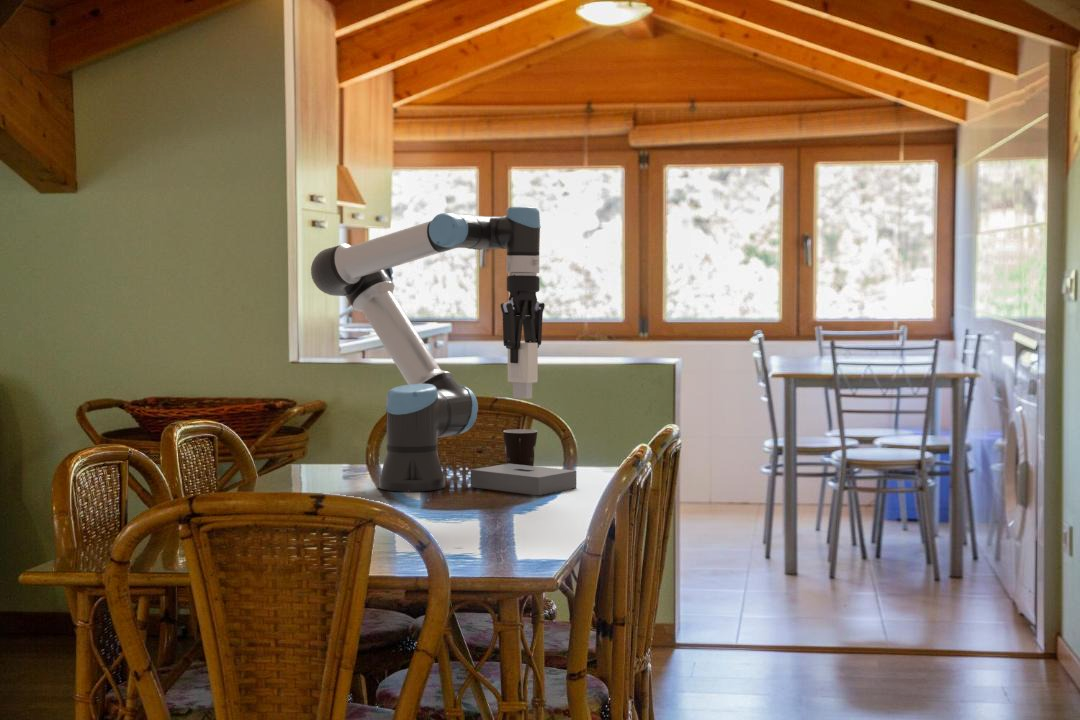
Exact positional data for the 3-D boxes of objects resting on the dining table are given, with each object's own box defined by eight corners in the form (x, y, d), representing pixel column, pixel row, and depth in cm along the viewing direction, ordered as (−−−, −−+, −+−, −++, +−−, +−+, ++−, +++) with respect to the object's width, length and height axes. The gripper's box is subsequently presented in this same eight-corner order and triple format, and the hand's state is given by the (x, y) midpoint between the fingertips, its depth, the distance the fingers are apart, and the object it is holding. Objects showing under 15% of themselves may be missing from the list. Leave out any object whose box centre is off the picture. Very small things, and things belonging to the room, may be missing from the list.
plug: (507, 397, 299) (507, 342, 298) (517, 396, 301) (517, 342, 301) (528, 399, 295) (528, 343, 294) (537, 398, 298) (537, 342, 297)
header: (470, 486, 300) (470, 469, 300) (509, 480, 311) (509, 463, 311) (538, 495, 288) (538, 477, 287) (576, 488, 299) (576, 470, 298)
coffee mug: (512, 467, 333) (512, 428, 333) (543, 469, 329) (543, 430, 329) (491, 473, 323) (491, 433, 322) (522, 475, 319) (522, 434, 318)
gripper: (512, 274, 288) (512, 379, 289) (558, 275, 301) (557, 376, 302) (487, 274, 293) (486, 378, 294) (532, 275, 306) (532, 374, 307)
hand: (522, 376), depth 298 cm, fingers closed on plug, 3 cm apart
